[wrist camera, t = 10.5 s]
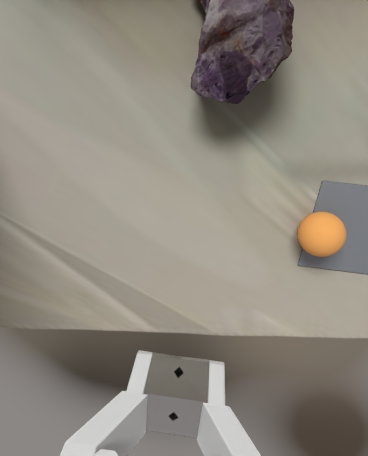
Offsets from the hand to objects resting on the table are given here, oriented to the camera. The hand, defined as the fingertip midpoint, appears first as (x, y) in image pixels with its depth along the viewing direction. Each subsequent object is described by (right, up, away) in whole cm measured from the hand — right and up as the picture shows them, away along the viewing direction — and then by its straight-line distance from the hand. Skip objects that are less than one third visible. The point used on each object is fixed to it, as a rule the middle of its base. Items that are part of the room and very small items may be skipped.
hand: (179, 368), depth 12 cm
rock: (+6, +25, +22) cm, 34 cm away
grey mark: (+22, +4, +30) cm, 38 cm away
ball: (+17, +4, +28) cm, 33 cm away
